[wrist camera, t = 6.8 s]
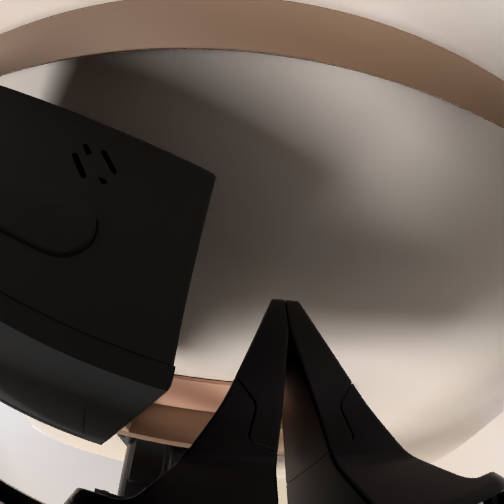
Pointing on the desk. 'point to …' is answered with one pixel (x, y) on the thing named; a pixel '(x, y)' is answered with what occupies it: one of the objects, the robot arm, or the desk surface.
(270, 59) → the desk surface
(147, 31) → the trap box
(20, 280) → the digital camera
